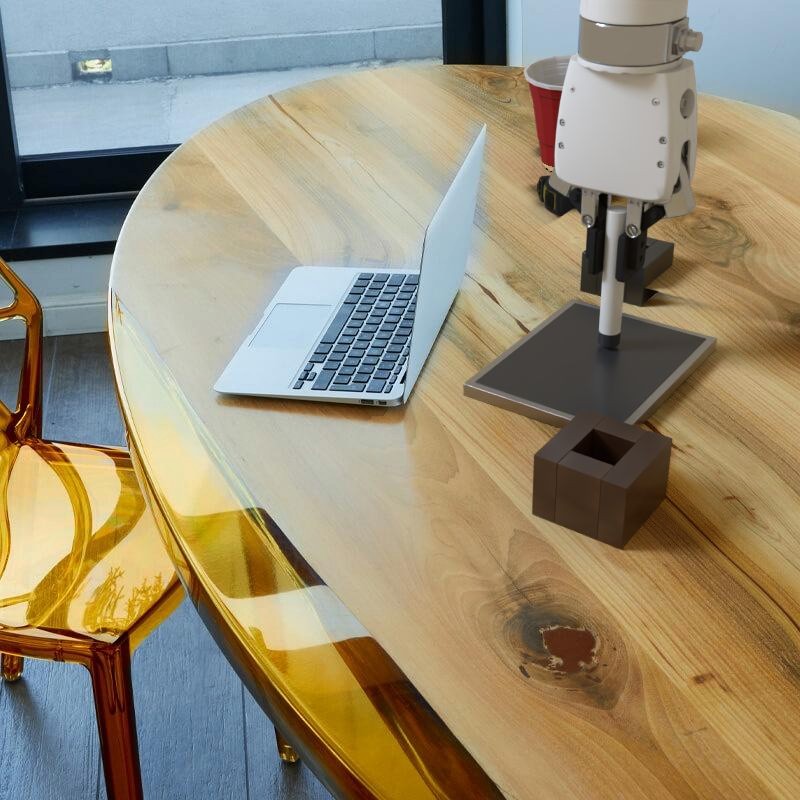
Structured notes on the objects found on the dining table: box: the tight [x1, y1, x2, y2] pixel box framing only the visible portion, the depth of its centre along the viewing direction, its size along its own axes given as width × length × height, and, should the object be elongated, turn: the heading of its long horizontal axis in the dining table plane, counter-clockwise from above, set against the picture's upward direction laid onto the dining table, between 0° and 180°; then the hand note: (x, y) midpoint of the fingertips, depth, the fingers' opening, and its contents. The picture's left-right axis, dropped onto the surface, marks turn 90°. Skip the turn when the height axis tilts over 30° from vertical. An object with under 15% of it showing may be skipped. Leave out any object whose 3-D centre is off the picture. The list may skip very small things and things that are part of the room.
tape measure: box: [536, 174, 577, 217], centre depth 118 cm, size 7×7×4 cm
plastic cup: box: [523, 54, 573, 167], centre depth 129 cm, size 11×11×12 cm
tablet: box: [462, 298, 718, 430], centre depth 90 cm, size 14×18×1 cm
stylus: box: [598, 204, 627, 347], centre depth 88 cm, size 2×2×12 cm
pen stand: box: [531, 409, 674, 550], centre depth 73 cm, size 7×7×5 cm
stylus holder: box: [579, 236, 675, 307], centre depth 102 cm, size 6×6×4 cm
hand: (614, 271), depth 88 cm, fingers closed on stylus, 1 cm apart
